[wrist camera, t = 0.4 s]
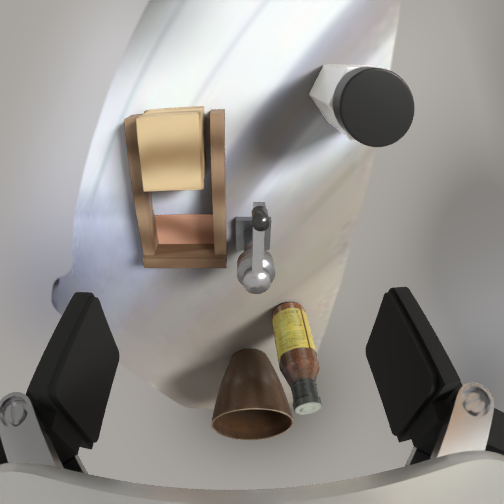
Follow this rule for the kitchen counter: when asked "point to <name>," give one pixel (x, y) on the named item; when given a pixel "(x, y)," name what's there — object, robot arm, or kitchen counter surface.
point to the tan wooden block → (172, 148)
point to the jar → (364, 102)
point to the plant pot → (251, 399)
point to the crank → (258, 252)
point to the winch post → (245, 243)
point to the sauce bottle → (297, 355)
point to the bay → (182, 226)
